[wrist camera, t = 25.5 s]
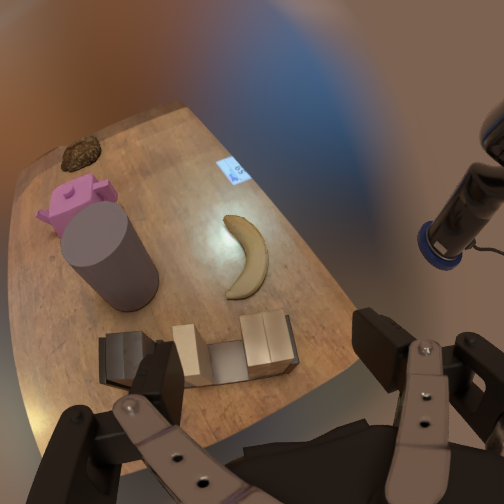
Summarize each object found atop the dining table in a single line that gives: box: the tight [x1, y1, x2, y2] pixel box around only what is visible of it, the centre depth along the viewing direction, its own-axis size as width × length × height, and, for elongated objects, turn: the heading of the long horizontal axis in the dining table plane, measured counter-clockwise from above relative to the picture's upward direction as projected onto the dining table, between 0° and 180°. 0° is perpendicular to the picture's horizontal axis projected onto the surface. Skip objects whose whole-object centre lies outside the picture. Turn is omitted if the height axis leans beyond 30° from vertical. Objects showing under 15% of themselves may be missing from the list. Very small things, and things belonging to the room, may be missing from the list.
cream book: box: [172, 324, 214, 386], centre depth 32 cm, size 2×6×11 cm, turn 10°
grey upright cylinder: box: [61, 201, 159, 312], centre depth 38 cm, size 10×10×15 cm
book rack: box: [99, 309, 299, 391], centre depth 33 cm, size 24×6×12 cm, turn 100°
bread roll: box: [61, 136, 101, 171], centre depth 62 cm, size 13×12×5 cm
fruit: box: [223, 215, 269, 299], centre depth 46 cm, size 7×15×3 cm, turn 4°
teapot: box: [36, 174, 117, 239], centre depth 48 cm, size 18×10×10 cm, turn 111°
